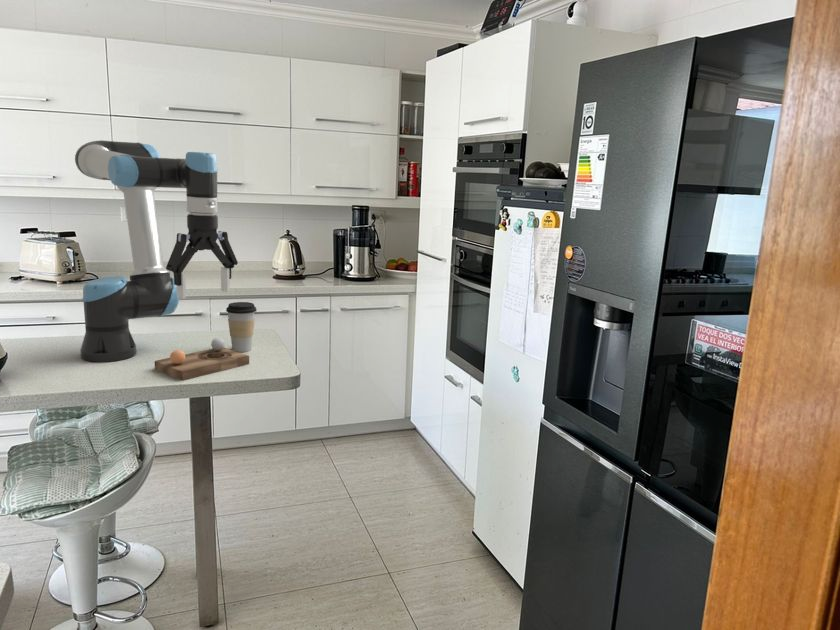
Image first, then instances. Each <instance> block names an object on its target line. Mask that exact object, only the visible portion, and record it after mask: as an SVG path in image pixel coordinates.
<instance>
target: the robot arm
mask: <svg viewBox="0 0 840 630" xmlns="http://www.w3.org/2000/svg"><path fill="white" fill-rule="evenodd" d="M74 162H75V163H74V164H75V166H76V167H77V169H78V170H79V171H80V173H81V174H82V175H84V176H86V177H89V178H92V179H95V180H103V181H110V182H111V183H112V185H114V186H116V188H117V189H118V190H119V191H121V192H122V194H123V198H124V199H123V200H124V205H125V213H126V219H127V220H126V221H127V227H128V235H129V236H128V237H129V241H130V242H129V243H130V249H131V256H132V265H133V270H132V272H131V273H130V274H129V281H128V280H127V279H126V277H124V276H118V275H117V276H107V277H105V276H104V277H102V278H96V279H92V280H90V281H88V282H86V283H85V284H84V285H83V288H82V301H83V314H84V325H85V334H84V336H83V339H82V343H81V348H80V358H81V359H82V360H83V361H88V362H96V363H97V362H98V363H100V362H101V363H102V362H103V363H105V362H115V361H116V362H117V361H122V360H126V359H129V358H132V357H134V356H136V355H137V345H136V343H135V340H134V338H133V336H132V333H131V330H130V328H129V327H130V325H129V321H130V320H135V319H144V318H152V317H153V318H154V317H162V316H166V315H171V314H173V313H174V312H175V311H176V310H177V308H178V305H179V301H180V299H184V300H185V299H187V293H186V292H187V291H186V289H187V287H186V286H187V285H186V273H185V272H183V271H184V270H185V269H186V267H187V265H188V264H189V262H190V261H191V259H192V258H193V256H194V255H195V254H196V253H198V252H199V251H204V250H207V251H211V252H212V253H213V255H214V256H215V257H216V258H217V260H218V261H219V263H220V264H221V265H222V266H221V267H220V290H221V292H224V293H230V280H231V279H232V269H233V268H234V267H235V266H237V265H238V263H239V262H238V259H237V258H236V255H235V253H234V251H233V248H232V246H231V243H230V241H229V236H228V232H227V231H222V230H219V231H218V228H219V219H218V218H219V217H218V215H217V213H218V212H219V211H218V209H219V207H218V205H219V204H218V171H219V168H218V163H217V156H216V154H214V153H211V152H200V151H197V152H196V151H187V152H186V153H185V158H178V157H177V158H168V157H167V158H166V157H161V155H160V153H159V151H158V150H157V149H156V148H155V147H154V146H153V145H151V144H150V143H149V144H148V143H141V142H129V141H128V142H126V141H114V140H93V141H88V142H86V143H85V144H83V145H81V146H80V147H79V148H77V150H76V152H75V155H74ZM157 188H163V189H164V188H167V189H169V188H170V189H171V188H172V189H175V188H176V189H177V188H178V189H186V193H185V194H186V212H187V213H188V214H187V215H186V223H187V224H186V225H187V230H188V232H187V234H186V233H182V232H178V233H177V234H176V242H175V243H174V246H173V249H172V252H171V254H170V257H169V258H168V262H167V263H166V266H164V260H163V253H162V252H163V251H162V246H161V245H162V244H161V237H160V231H159V230H160V229H159V222H158V216H157V209H156V201H155V193H154V191H156V189H157ZM217 240H218V242H219V244H218V243H217ZM187 243H188V244H187ZM186 244H187V245H186ZM220 246H221V247H220ZM171 272H172V273H173V277H171V274H170V273H171Z"/></svg>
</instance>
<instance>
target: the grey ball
mask: <svg viewBox="0 0 840 630" xmlns="http://www.w3.org/2000/svg"><path fill="white" fill-rule="evenodd" d="M210 345H211V347H212V348H211V349H214V350H216V351H220V350H222V349H223V348H226V347H225V346H226V342H225V340H224V339H223V338H222V337H215V338H213V339H212V340H211V344H210Z"/></svg>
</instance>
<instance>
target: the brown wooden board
mask: <svg viewBox="0 0 840 630" xmlns="http://www.w3.org/2000/svg"><path fill="white" fill-rule="evenodd" d="M184 354H185V353H184ZM245 365H250V355H248V354H245V353H243V352H236V351H233V350H232V349H229V348H226V347H224V348H223V349H222V350H220V351H216V350H214V349H213V348H209V349H205V350H200V351H195V352H190V353H186V354H185V360H184V362H183V363H181V364H174V363H173V362H172V361H171V359H170V357H166V358H163V359H157V360H154V370H155V371H158V372H161V373H164V374H166V375H168V376H170V377H173V378H176V379H179V380H181V381H185V380H189V379H194V378H198V377H202V376H206V375H210V374H214V373H217V372H221V371H226V370H230V369H233V368H238V367H242V366H245Z"/></svg>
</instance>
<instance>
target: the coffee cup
mask: <svg viewBox="0 0 840 630" xmlns="http://www.w3.org/2000/svg"><path fill="white" fill-rule="evenodd" d="M227 305H228V306H227V307H226V309H225V311H226V312H227V321H228V329H229V336H230V341H231V350H233V351H236V352H239V353H246V352H247V353H248V352H250V351H251V350H252V347H253V345H252V344H253V336H254V332H255V331H254V329H255V313H256V312H257V307H256V306H255V304H254V303H252V302H249V301H237V302H236V301H234V302H230V303H228V304H227Z"/></svg>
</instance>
